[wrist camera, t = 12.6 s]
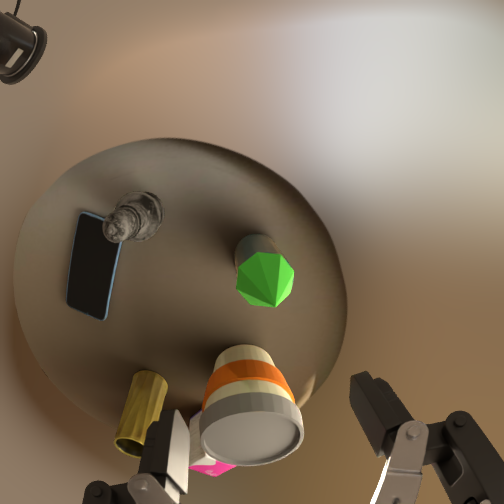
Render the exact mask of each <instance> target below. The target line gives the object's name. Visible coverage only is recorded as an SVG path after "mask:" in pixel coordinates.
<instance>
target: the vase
mask: <svg viewBox="0 0 504 504" xmlns="http://www.w3.org/2000/svg"><path fill="white" fill-rule="evenodd" d="M167 389H168V385H167V383H166V381H165V379H164V378H163V377H162V376H160V375H159V374H157V373H155V372H152V371H147V370H143V371H139V372H137V373H136V374H134V376H133V379H132V384H131V387H130V390H129V394H128V397H127V400H126V404H125V407H124V411H123V414H122V417H121V420H120V423H119V426H118V429H117V433H116V436H115V439H114V445H115V446H116V448H117V449H118V450H119V451H121V452H122V453H124V454H126V455H128V456H131V457H134V458H141V456H142V451H143V447H144V441H145V437H146V432H147V429H148V427H149V426H150V424H151V423H152V422H153V421H159V416H160V412H161V410H162V406H163V402H164V398H165V395H166V392H167Z"/></svg>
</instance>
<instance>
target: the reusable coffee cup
mask: <svg viewBox="0 0 504 504" xmlns="http://www.w3.org/2000/svg"><path fill="white" fill-rule="evenodd" d="M202 412H203V413H202V415H201V416H200V420H199V431H200V442H201V446H202V448H203V450H204V451H205V452H206V454H208V455H209V456H210V457H212V458H213V459H215V460H217V461H219V462H222V463H225V464H230V465H235V466H258V465H264V464H269V463H272V462H275V461H278V460H280V459H282V458H284V457H287V456H288V455H290V454H291V453H293V452H294V451H295V450H296V449H297V448H298V447H299V446H300V444H301V443H302V440H303V438H304V429H303V422H302V416H301V413H300V410H299V408H298V407H297V406H296V404H294V397H293V394H292V392H291V390H290V389H289V387H288V385H287V383H286V381H285V379H284V377H283V375H282V374H281V372H280V371H279V370H278V369H277V368H276V367H275V365H274V363H273V361H272V359H271V357H270V356H269V354H268V353H267V352H266V351H265V350H263V349H261V348H260V347H257V346H254V345H244V344H243V345H236V346H233V347H230V348H228V349H226V350H225V351H223V352H222V353H221V354H220V355H219V356H218V358H217V360H216V363H215V367H214V371H213V374H212V375H211V377H210V378H209V380H208V384H207V388H206V392H205V396H204V400H203V404H202Z"/></svg>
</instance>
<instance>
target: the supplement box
mask: <svg viewBox="0 0 504 504" xmlns="http://www.w3.org/2000/svg"><path fill="white" fill-rule="evenodd" d="M202 413H203V412H202V409H201V410H199V411H198V412H197V413H196V414H194V415H193V416H192V417H191V418H190V425H189V433H190V449H189V465H188V468H190V469H193V470H195V471H198V472H201V473H204V474H207V475H211V476H213V477H216V476H218V475H220V474H222V473H223V472H225V471H227V470H229V469H231V468H233V467H235V465H230V464H225V463H222V462H219V461H217V460H215V459H213V458H212V457H210V456H209V455H208V454H206V452H205V451H204V450H203V448H202V446H201V442H200V431H199V420H200V416H201V415H202Z"/></svg>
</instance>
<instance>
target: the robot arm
mask: <svg viewBox="0 0 504 504" xmlns="http://www.w3.org/2000/svg"><path fill="white" fill-rule="evenodd" d="M20 2H21V0H18V1H17V5H16V8H15V12H14V14H13V15H12V14H11V13H9V12H6V13H4V14H3V13H2V12H0V74H2V75H4V76H6V77H13V76H15V75H17V74H18V73H20V72H21V71H22V70H23V69H24V68H25V67H26V66H27V65H28V63H29V62H30V60H31V59H32V57H33V56H34V54H35V52H36V49H37V46H38V42H39V37H38V34H37V33H36V32H34V28H33V27H31V26H30V25H28V24H26V23H25V22H23V21H22V20H20V19H19V18H17V17H16V15H17V12H18V9H19V5H20ZM349 398H350V404H351V407H352V409H353V411H354V413H355V415H356V417H357V419H358V421H359V422H360V425H361V426H362V428H363V430H364V432H365V434H366V436H367V438H368V440H369V442H370V444H371V446H372V448H373V450H374V452H375V454H376V456H377V457H380V456H382V455H385V456H386V459H387V461H386V465H385V468H384V470H383V473H382V476H381V479H380V482H379V485H378V487H377V490H376V492H375V495H374V497H373V499H372V501H371V503H370V504H415V501H416V499H417V495H418V491H419V488H420V484H421V480H422V473H421V469H422V466H424V465H428V464H432V466H433V468H434V470H435V471H436V474H437V475H438V477H439V479H440V481H441V483H442V485H443V487H444V489H445V491H446V493H447V495H448V497H449V499H450V501H451V503H452V504H504V462H503V460H502V459H501V457H500V456H499V454H498V453H497V451H496V450H495V448H494V447H493V445H492V444H491V443H490V441H489V440H488V438H487V437H486V435H485V434H484V433H483V431H482V430H481V429H480V427H479V426H478V424H477V423H476V422H475V420H474V419H473V418H472V416H471V415H470V414H469V413H467V412H465V411H455V412H453V413H451V414H450V415H449V416H448V417H447V419H446V421H443V422H438V423H434V424H424V423H423V422H420V421H416V420H414V419H413V418H412V416H411V415H410V413H409V412H408V410H407V409H406V408H405V406H404V405H403V403H402V402H401V401H400V399H399V398H398V397H397V395H396V394H395V392H393V389H392V388H391V387H390V385H389V384H388V383H387V382H386V381H384V380H382V379H381V378H376V379H374V380H373V379H372V377H371V375H370V374H369V373H368V372H367V371H364V372H361V373H358V374H355V375H352V376H351V380H350V396H349ZM189 449H190V433H189V430H188V427H187V425H186V424H185V422H184V420H183V418H182V416H181V414H180V412H179V411H178V410H177V409H173V410H162V411H161V412H160V416H159V421H153V422H152V423H151V424H150V426H149V427H148V429H147V432H146V437H145V441H144V447H143V451H142V456H141V461H140V466H139V471H138V473H137V474H136V475H134V476H133V477H132V478H131V479H130V480H129V481H128V482H127V483H124V484H118V485H112V486H109V485H108V484H107V483H105V482H103V481H94V482H91V483H90V484H89V485H88V486H87V487H86V489H85V493H84V498H83V503H82V504H181V503H180V502H179V494H187V485H188V465H189Z"/></svg>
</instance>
